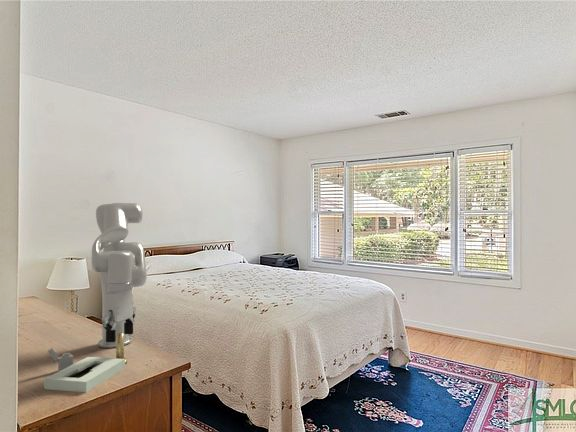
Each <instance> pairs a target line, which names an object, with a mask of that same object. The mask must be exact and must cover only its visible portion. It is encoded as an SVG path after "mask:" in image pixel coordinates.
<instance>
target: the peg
mask: <svg viewBox="0 0 576 432" xmlns="http://www.w3.org/2000/svg"><path fill="white" fill-rule="evenodd" d="M124 348H125V345H124V333H117V334H116V347H115V358H116V359H125V366H126V365H127V364H128V358H127V357H124V355H125V349H124Z"/></svg>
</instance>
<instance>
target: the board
mask: <svg viewBox="0 0 576 432" xmlns="http://www.w3.org/2000/svg"><path fill="white" fill-rule="evenodd" d="M87 368H92V369H89V371H88V373H86V374H84V375H83V376H80V377H73V376H75V375H76V374H78V373H80V372H82V371H84V370H86V369H87ZM124 369H126V365H125V359H116V357H115V358H114V357H98V356H86V357H84V358H83V359H81V360H79V361H77V362H75V363H73V365H71V366H69V367H67V368H65V369H63V370H61V371H59V372H58V371H57V372H55V373H53V374H51V375H49V376H47V377H45V378H44V381H43V382H44V383H43V384H44V385H43V389H44V390H53V391H63V392H74V393H75V392H78V393H88V392H89V391H91V390H93V389H94V388H96V387H97V386H99V385H101V384H102V383H104V382H106V381H107V380H109V379H110V378H112V377H114V375H116V374H118V373H120V372H121V371H123V370H124Z"/></svg>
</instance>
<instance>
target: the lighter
mask: <svg viewBox="0 0 576 432" xmlns="http://www.w3.org/2000/svg"><path fill="white" fill-rule="evenodd" d="M47 352H48V354H49V355H50V357H51V358H52V360H53V362H56V361H58V365H57V369H58V370H57V372H59V371H61V370H63V369H65V368H67V367H69V366H71V365H73V364H74V355H73V354H71V353H69V352H65V353H62V355H61V356H60V357H59V356H58V355H57V353H56V351H55V350H54V349H53V347H50V348H49V349H47Z"/></svg>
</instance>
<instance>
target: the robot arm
mask: <svg viewBox="0 0 576 432" xmlns="http://www.w3.org/2000/svg"><path fill="white" fill-rule="evenodd" d="M95 218H96V223H97V226H98V228H99V230H100V232H101V234H99V236H98V237H97V238H96V239H95V240H94V242H93V243H92V246H91V268H92V270H93V271H94V272H96V273H99V280H100V282H99V283H100V286H101V296H102V297H101V299H102V304H101V305H102V313H101V314H102V318H101V322H102V325H101V326H102V329H101V330H102V337H101V338H102V339H100V340H99V341H98V342H97V345H98V347H100V348H103V349H104V348H105V349H107V348H110V349H111V348H116V334H117V333H124V346H126V345H128V344H131V343H132V342H133V337H132V336H130V335H134V330H135V329H134V322H135V318H136V317H135V316H136V312H137V308H136V307H134V300H133V292H132V291H133V289H132V288H139V287H143V286H144V285H145V284H146V283H147V266H146V256H145V255H146V254H145V248H144V246H143V245H142V244H141V243H140V242H137V241H136V242H135V241H134V242H133V241H132V242H131V241H130V242H128V241H127V242H126V241H125V239H126V238H127V237H128V235H129V225H128V224H140V223H141V222H142V220H143V209H142V207H141V205H140V204H139V203H134V202H133V203H132V202H113V203H104V204H100V205H98V206H97V208H96V210H95ZM102 250H103V251H102Z"/></svg>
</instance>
